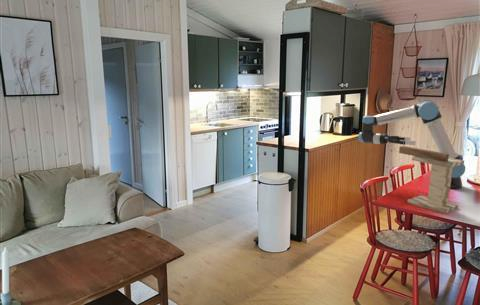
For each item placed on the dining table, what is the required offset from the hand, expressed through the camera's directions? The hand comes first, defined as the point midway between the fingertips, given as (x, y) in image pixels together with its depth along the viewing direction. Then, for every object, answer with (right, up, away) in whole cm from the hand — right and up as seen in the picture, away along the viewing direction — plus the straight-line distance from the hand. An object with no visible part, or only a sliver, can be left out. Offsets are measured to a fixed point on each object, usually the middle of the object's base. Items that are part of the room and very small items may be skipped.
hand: (412, 141), depth 243 cm
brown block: (-7, -10, -27) cm, 30 cm away
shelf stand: (0, -39, -24) cm, 46 cm away
